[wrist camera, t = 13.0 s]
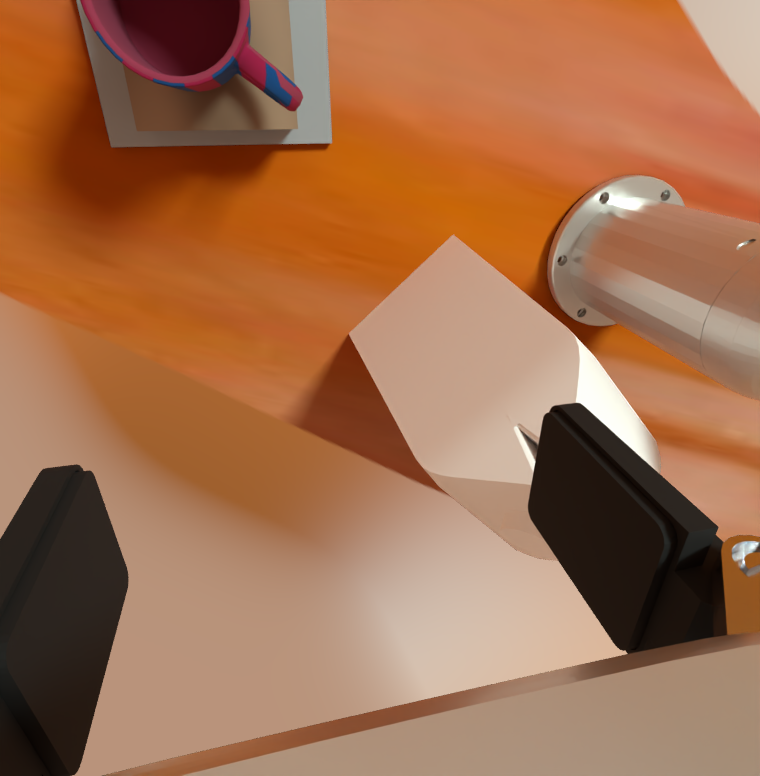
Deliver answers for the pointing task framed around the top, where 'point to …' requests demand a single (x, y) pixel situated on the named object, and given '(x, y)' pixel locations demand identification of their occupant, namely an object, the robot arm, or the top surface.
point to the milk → (484, 385)
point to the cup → (188, 44)
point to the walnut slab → (223, 87)
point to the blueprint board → (311, 118)
